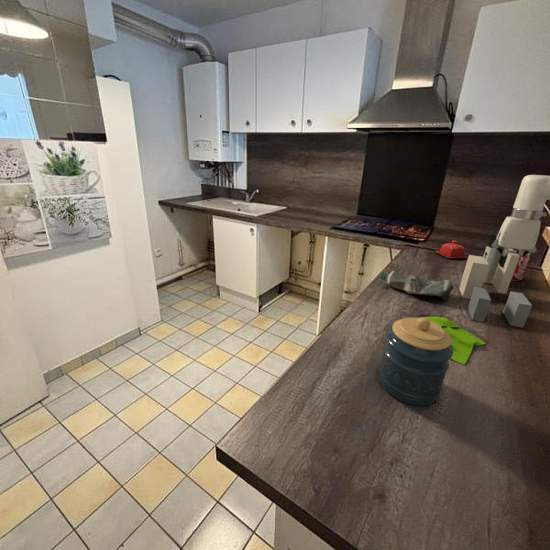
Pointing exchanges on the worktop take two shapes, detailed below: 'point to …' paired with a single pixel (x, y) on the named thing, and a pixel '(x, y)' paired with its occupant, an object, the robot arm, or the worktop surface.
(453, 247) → the butter dish
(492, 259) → the spray can
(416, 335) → the canister
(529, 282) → the worktop surface
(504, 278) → the cream book
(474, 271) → the beige rectangular block
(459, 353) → the cloth
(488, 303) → the pair of grey pillars
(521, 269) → the soda can
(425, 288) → the crushed plastic bottle
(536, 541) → the worktop surface
